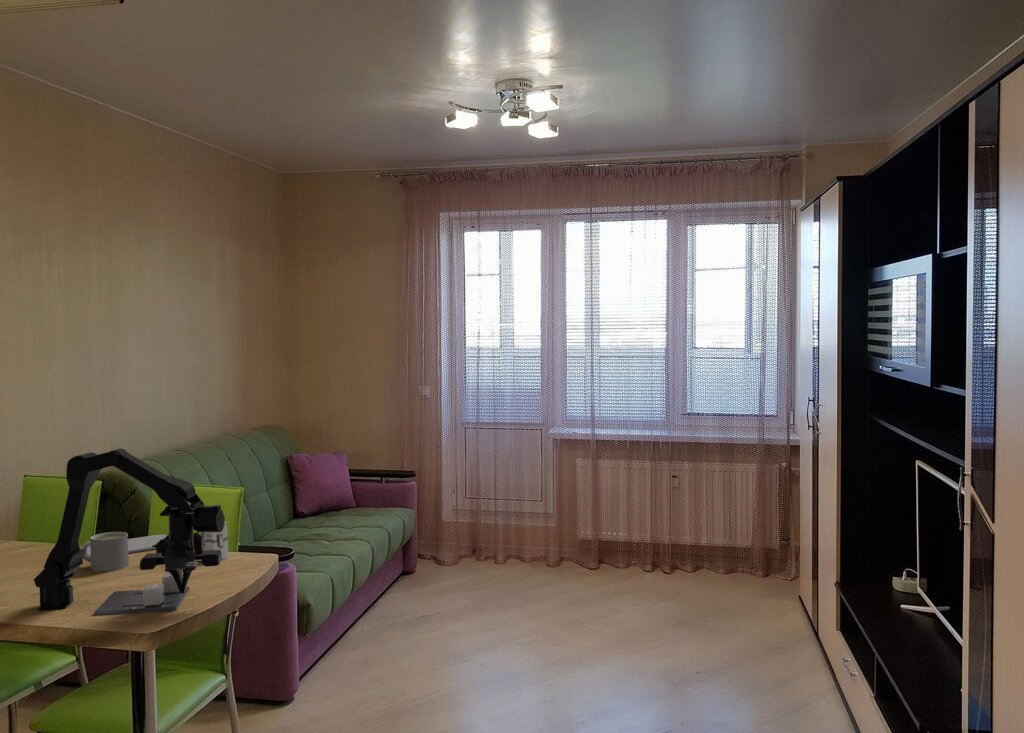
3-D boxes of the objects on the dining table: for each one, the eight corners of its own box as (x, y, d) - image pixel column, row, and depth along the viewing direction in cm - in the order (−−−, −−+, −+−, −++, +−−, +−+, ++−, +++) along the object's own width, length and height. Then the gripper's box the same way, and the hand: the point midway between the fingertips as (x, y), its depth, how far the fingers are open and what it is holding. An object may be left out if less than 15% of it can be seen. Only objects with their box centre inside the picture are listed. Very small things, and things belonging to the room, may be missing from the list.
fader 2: (162, 592, 211) (162, 576, 210) (166, 587, 214) (165, 572, 214) (178, 591, 211) (178, 575, 211) (182, 586, 215) (181, 571, 215)
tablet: (80, 553, 257) (79, 546, 257) (165, 540, 273) (165, 533, 273) (90, 564, 244) (89, 556, 244) (179, 549, 260) (178, 543, 260)
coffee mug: (136, 565, 241) (135, 532, 240) (111, 575, 231) (110, 541, 231) (99, 562, 244) (98, 530, 244) (73, 572, 235) (72, 538, 234)
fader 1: (143, 605, 200) (142, 589, 200) (147, 600, 204) (147, 584, 204) (160, 604, 201) (159, 588, 201) (164, 599, 205) (163, 583, 205)
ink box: (200, 558, 248) (200, 520, 248) (216, 554, 252) (215, 517, 252) (213, 563, 242) (212, 524, 242) (229, 560, 246) (228, 521, 246)
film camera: (191, 551, 257) (190, 523, 256) (206, 556, 250) (205, 528, 250) (143, 561, 245) (143, 532, 245) (158, 567, 239) (157, 537, 239)
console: (94, 615, 197) (94, 611, 197) (114, 595, 213) (114, 591, 213) (176, 610, 201) (176, 605, 201) (189, 590, 217) (189, 586, 217)
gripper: (132, 542, 194) (134, 606, 194) (213, 538, 197) (215, 600, 198) (145, 531, 205) (146, 591, 205) (221, 527, 208) (223, 587, 209)
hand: (182, 593), depth 204 cm, fingers closed
